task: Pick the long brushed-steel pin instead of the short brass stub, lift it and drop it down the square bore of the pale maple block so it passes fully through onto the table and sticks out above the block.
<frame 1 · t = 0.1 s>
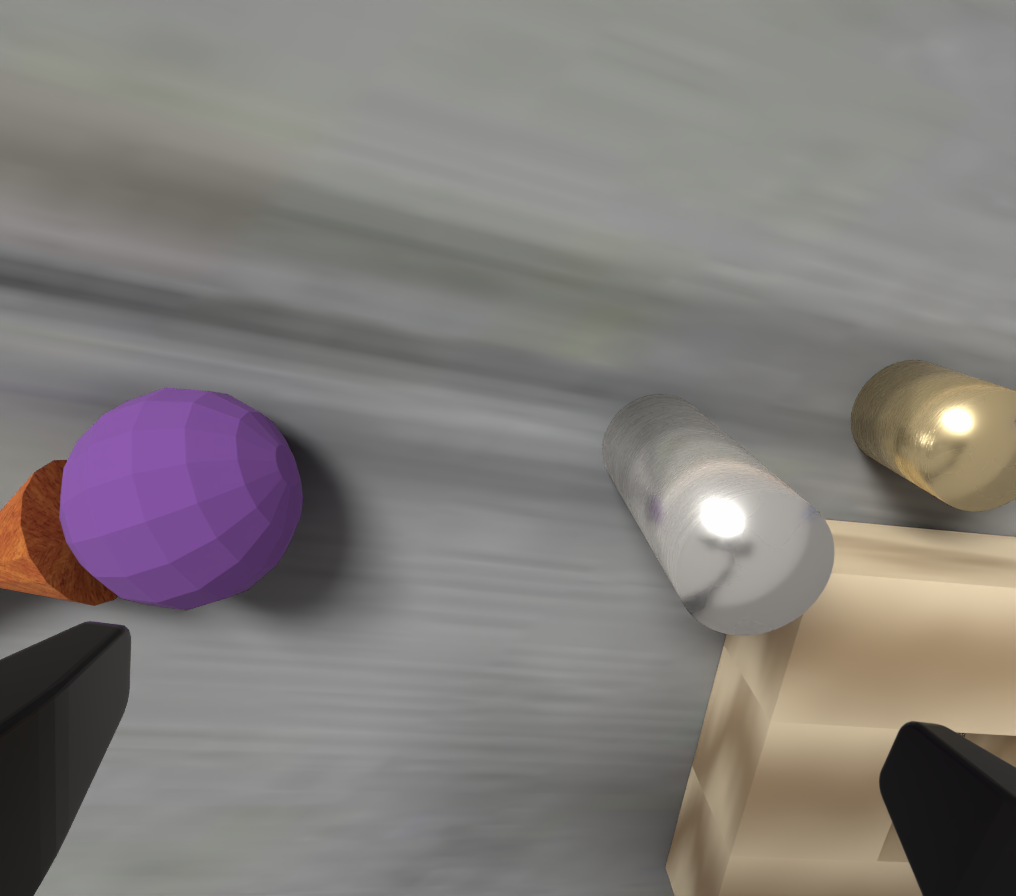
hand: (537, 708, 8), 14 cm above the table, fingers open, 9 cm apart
short pin: (902, 412, 23), on the table
bore block: (904, 718, 27), on the table
purple maraca: (22, 528, 22), on the table
long pin: (655, 446, 23), on the table
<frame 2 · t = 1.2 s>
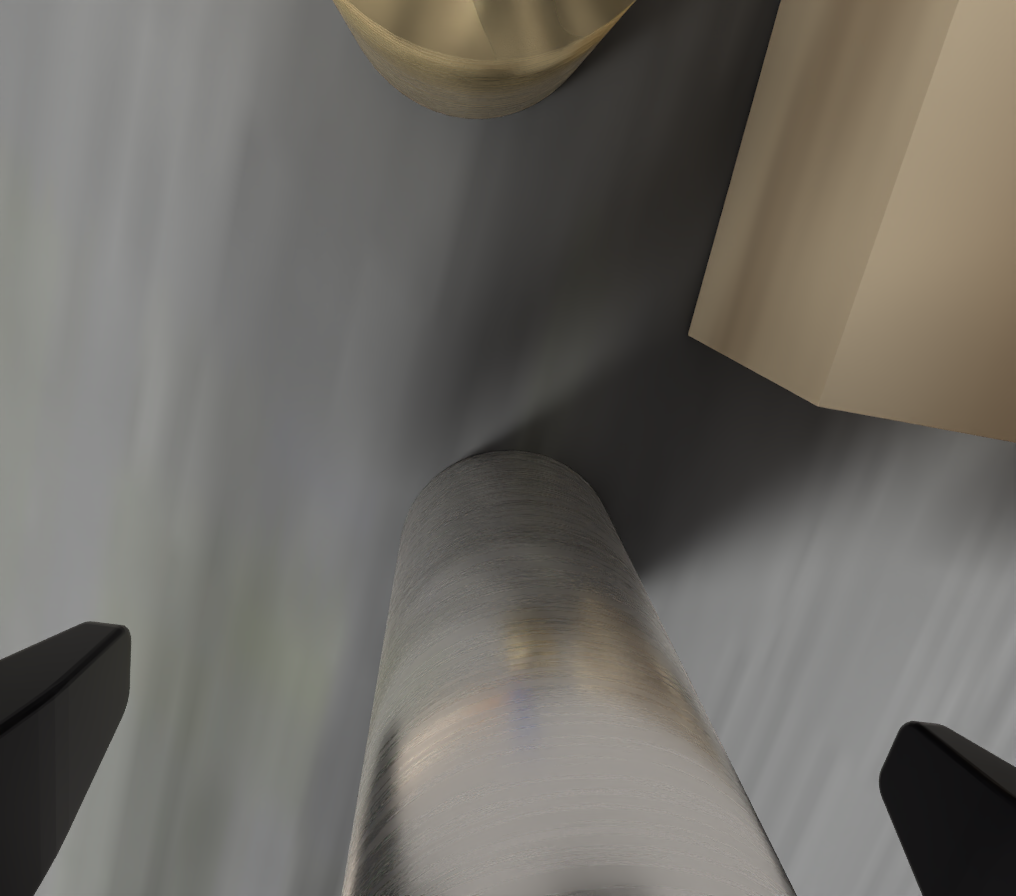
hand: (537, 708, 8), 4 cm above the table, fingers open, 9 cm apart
long pin: (507, 550, 12), on the table
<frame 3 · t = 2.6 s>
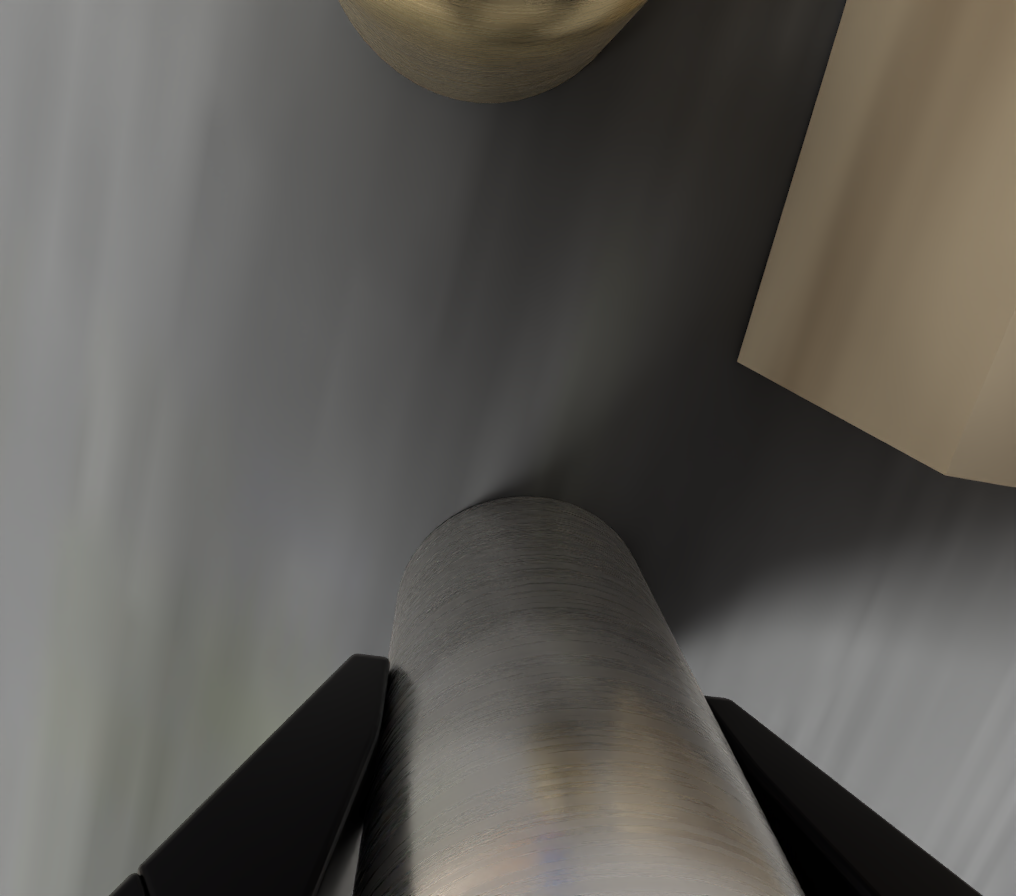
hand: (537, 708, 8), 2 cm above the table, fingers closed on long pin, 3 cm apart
long pin: (521, 610, 10), on the table, touching gripper
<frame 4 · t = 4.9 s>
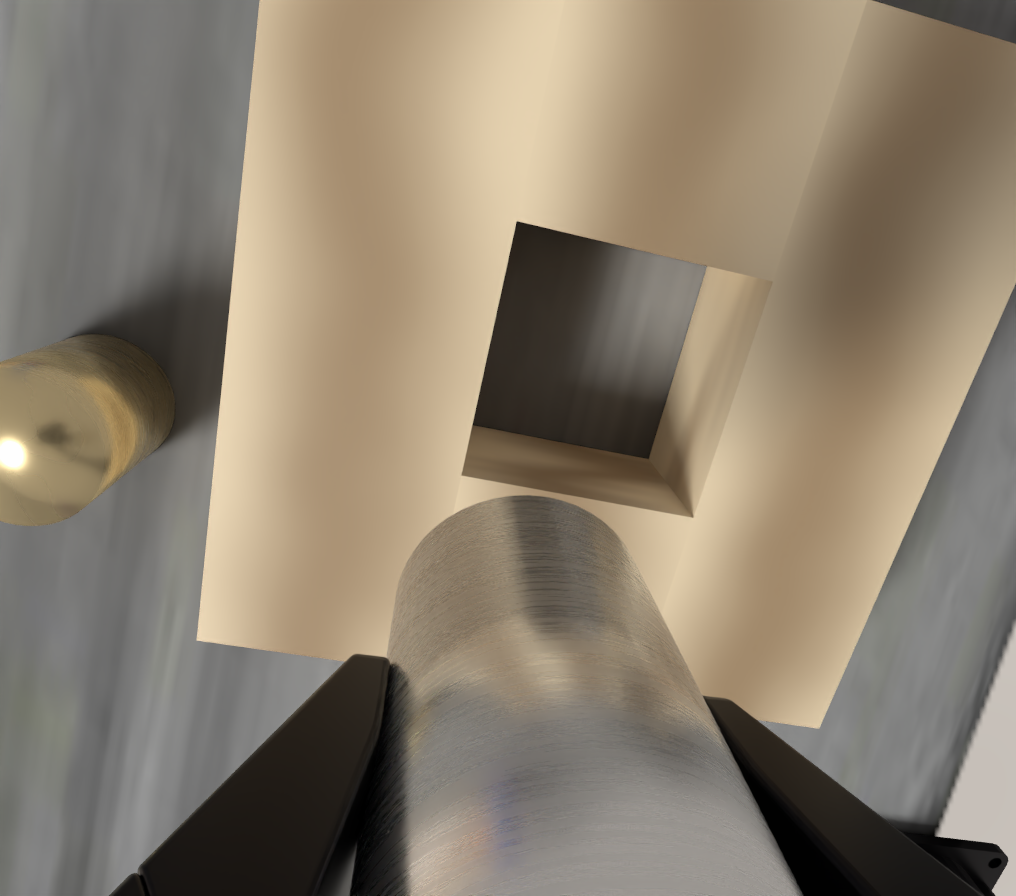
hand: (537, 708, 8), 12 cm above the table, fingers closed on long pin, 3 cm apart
short pin: (106, 400, 18), on the table
bore block: (580, 346, 19), on the table
long pin: (519, 609, 10), point 10 cm above the table, touching gripper
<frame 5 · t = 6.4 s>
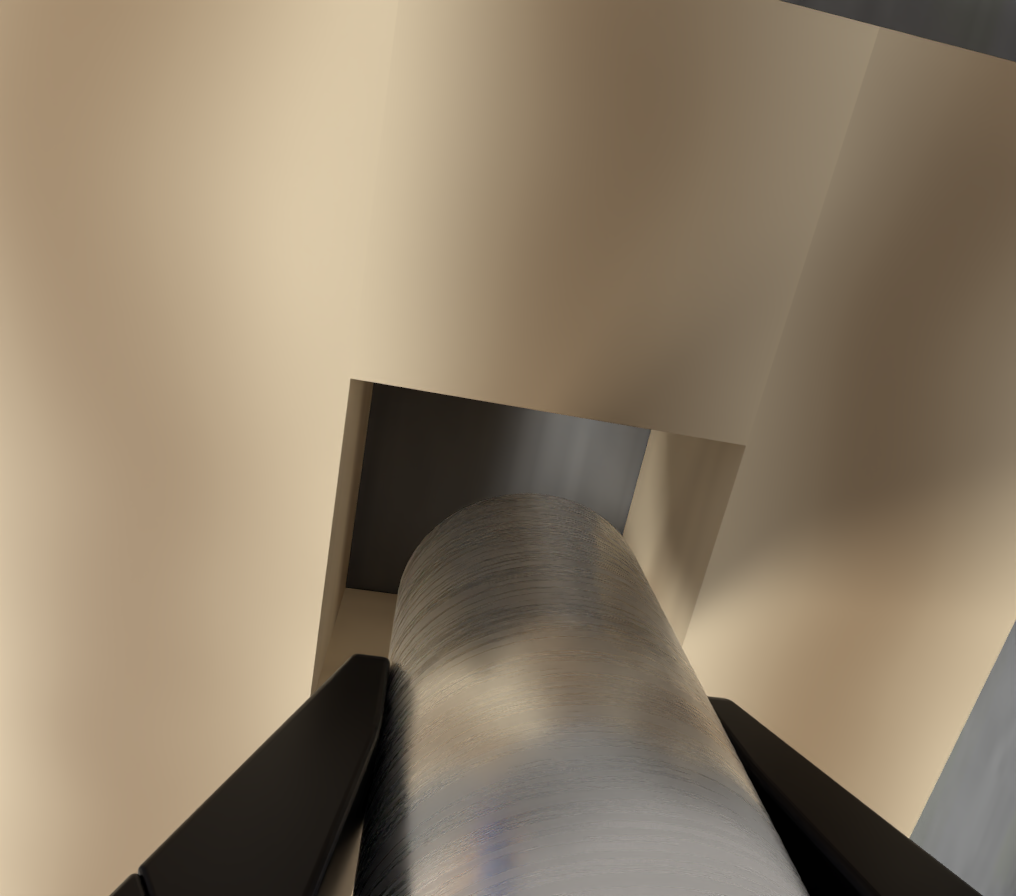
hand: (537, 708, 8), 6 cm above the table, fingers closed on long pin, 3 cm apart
bore block: (499, 487, 14), on the table
long pin: (521, 607, 10), point 4 cm above the table, touching gripper
when the fingers open (5 cm above the table, at t = 7.5 s): long pin drops 3 cm, resting in bore block.
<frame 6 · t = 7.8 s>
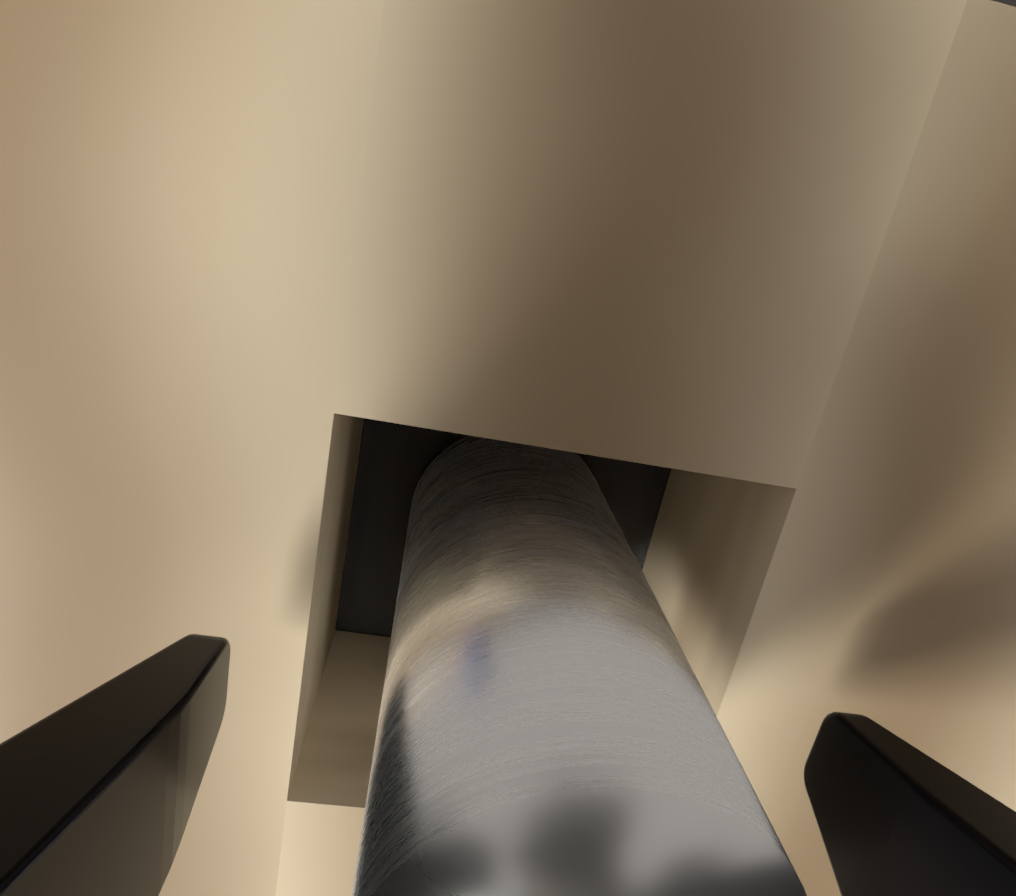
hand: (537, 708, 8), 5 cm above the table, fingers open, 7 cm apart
bore block: (505, 520, 13), on the table
long pin: (507, 518, 13), resting in bore block
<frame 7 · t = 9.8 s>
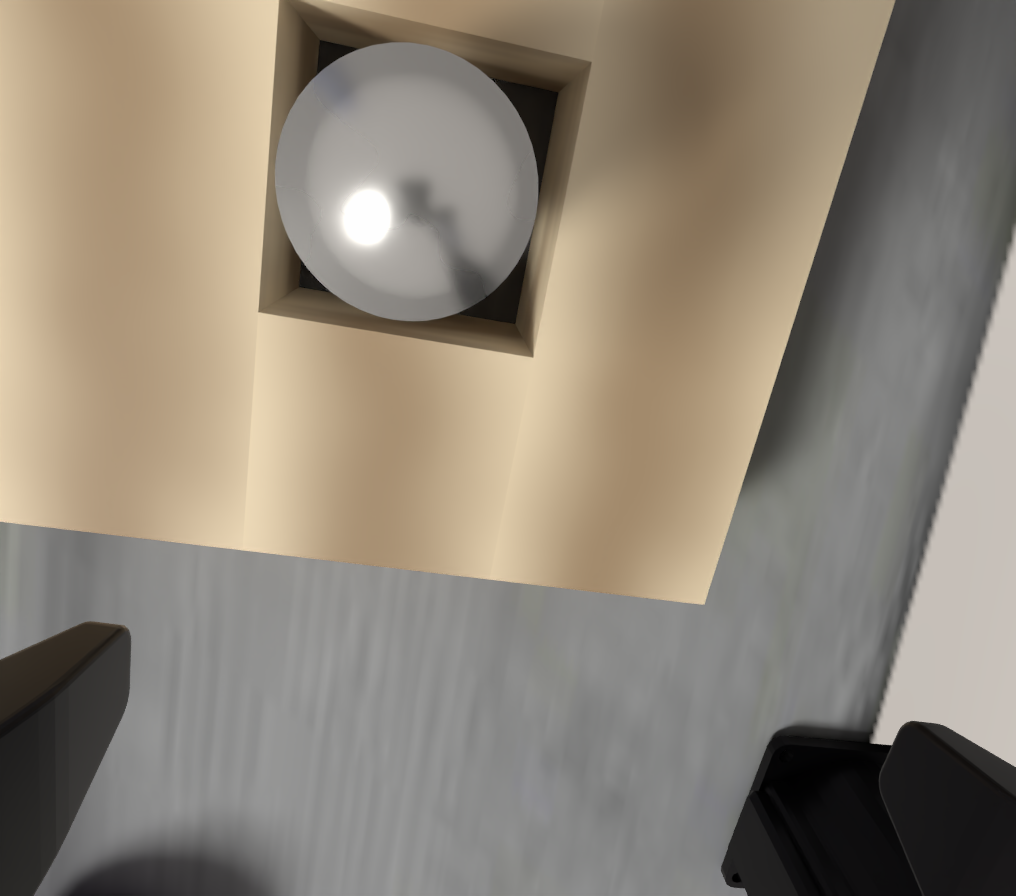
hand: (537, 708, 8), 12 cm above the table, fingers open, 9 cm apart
bore block: (424, 192, 17), on the table
long pin: (425, 192, 17), resting in bore block
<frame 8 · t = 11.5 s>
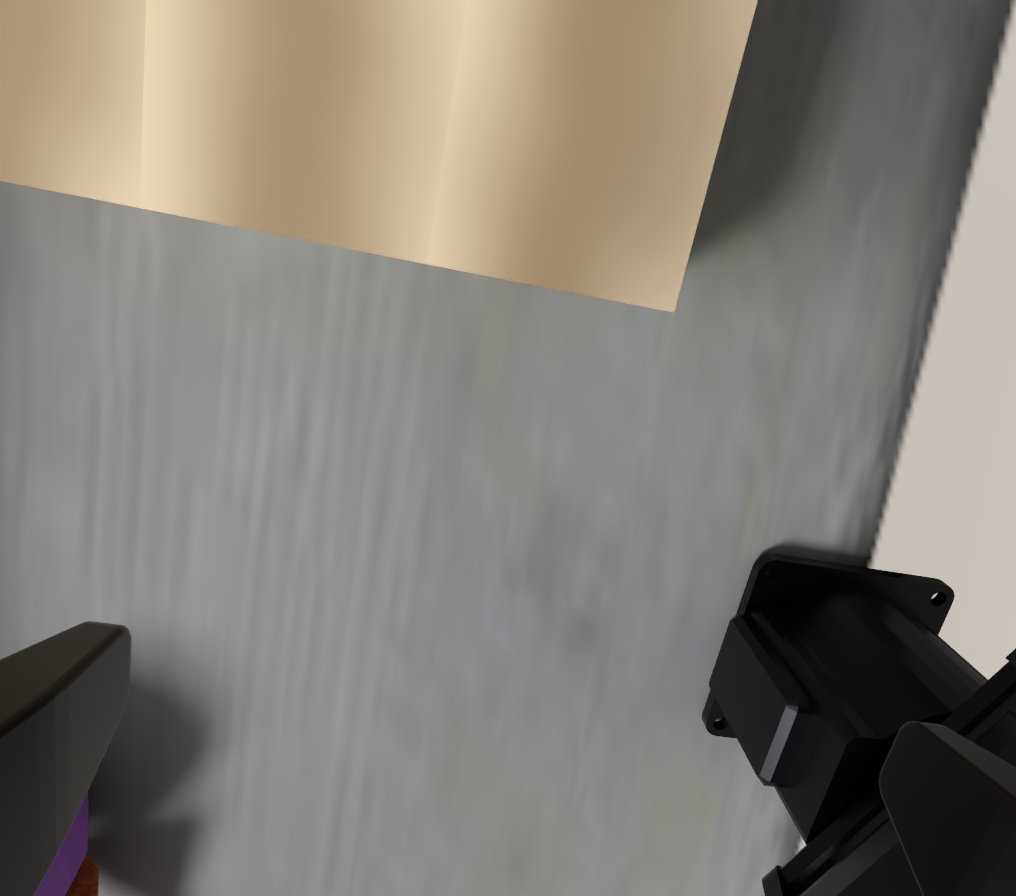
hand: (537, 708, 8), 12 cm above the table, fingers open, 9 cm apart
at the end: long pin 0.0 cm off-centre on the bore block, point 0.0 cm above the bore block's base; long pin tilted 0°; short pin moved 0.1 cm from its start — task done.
